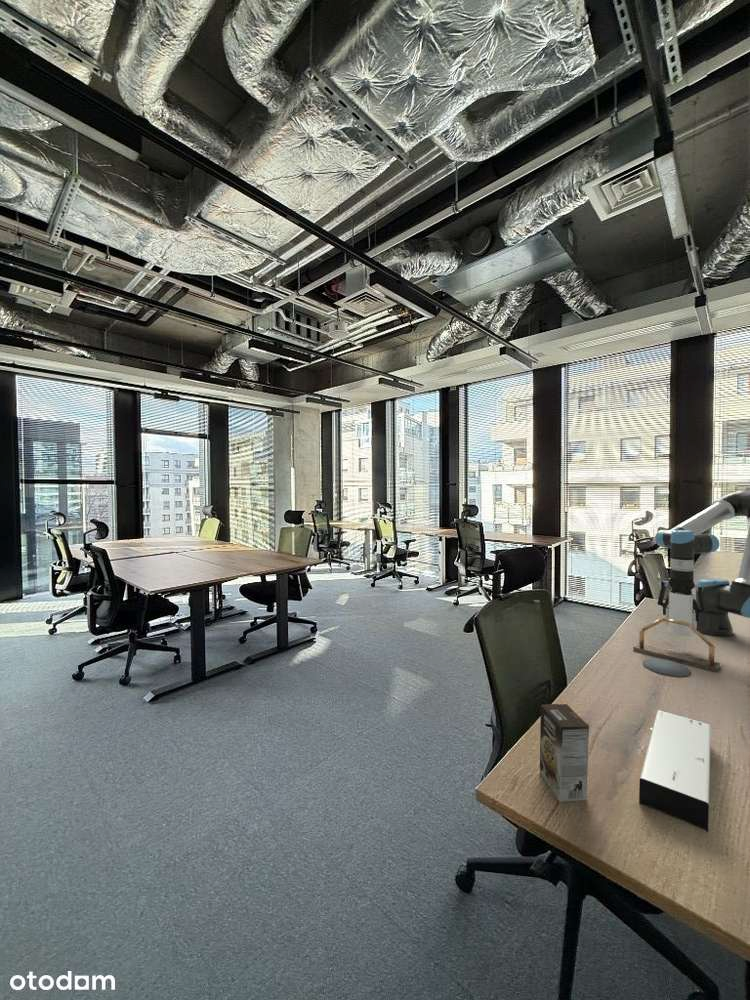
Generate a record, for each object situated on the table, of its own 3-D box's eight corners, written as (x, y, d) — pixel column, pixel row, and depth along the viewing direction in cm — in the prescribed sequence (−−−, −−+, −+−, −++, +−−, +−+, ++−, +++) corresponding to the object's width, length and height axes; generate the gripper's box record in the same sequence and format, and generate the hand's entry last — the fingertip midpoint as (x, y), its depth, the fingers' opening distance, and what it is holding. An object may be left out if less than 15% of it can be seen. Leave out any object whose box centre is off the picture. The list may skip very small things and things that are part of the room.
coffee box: (538, 773, 97) (539, 703, 96) (565, 771, 98) (566, 702, 97) (558, 803, 88) (560, 726, 87) (588, 801, 88) (590, 725, 88)
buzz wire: (638, 646, 172) (639, 611, 171) (719, 667, 153) (721, 627, 152) (633, 650, 168) (634, 614, 167) (716, 672, 149) (718, 631, 148)
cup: (685, 628, 173) (686, 589, 172) (698, 636, 165) (699, 595, 164) (663, 628, 174) (664, 589, 173) (676, 635, 165) (676, 595, 165)
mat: (649, 656, 162) (649, 655, 162) (694, 668, 152) (694, 666, 152) (637, 667, 153) (637, 665, 153) (684, 680, 142) (684, 678, 142)
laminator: (707, 835, 80) (708, 803, 80) (632, 804, 88) (633, 775, 88) (710, 748, 107) (710, 724, 107) (651, 730, 115) (652, 707, 114)
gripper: (648, 567, 173) (647, 622, 174) (713, 574, 158) (712, 635, 159) (653, 564, 178) (653, 617, 179) (717, 571, 163) (716, 630, 164)
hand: (680, 626), depth 169 cm, fingers closed on cup, 8 cm apart
